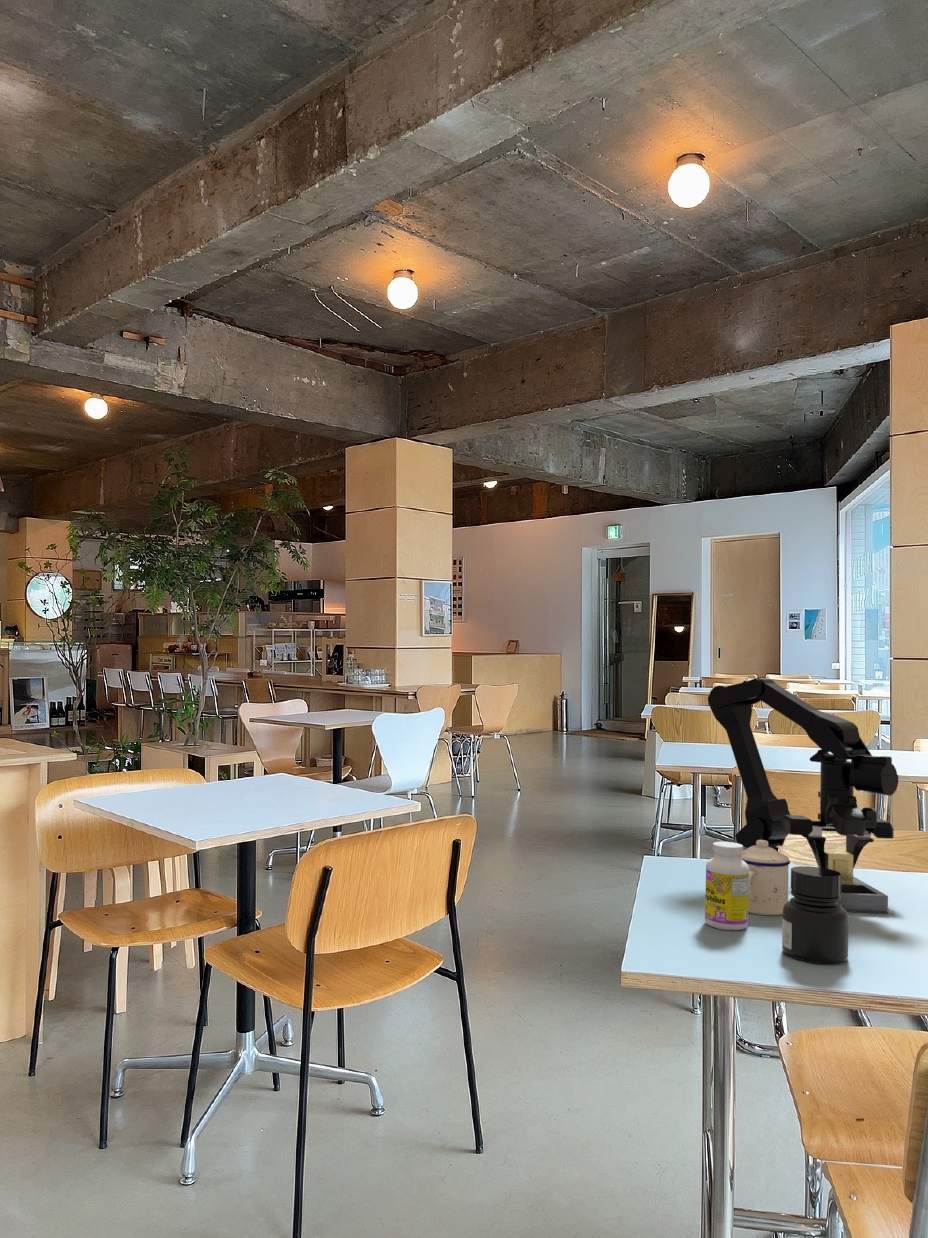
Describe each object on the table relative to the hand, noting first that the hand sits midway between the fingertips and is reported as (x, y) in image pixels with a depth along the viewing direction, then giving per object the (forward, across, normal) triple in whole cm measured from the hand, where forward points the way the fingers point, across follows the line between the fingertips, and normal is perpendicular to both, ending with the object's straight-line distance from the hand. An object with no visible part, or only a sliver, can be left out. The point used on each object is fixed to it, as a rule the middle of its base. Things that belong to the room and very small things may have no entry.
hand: (835, 873), depth 167 cm
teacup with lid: (+4, -18, -13) cm, 23 cm away
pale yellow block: (+1, 0, 0) cm, 1 cm away
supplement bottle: (+4, -26, -23) cm, 35 cm away
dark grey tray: (+4, 0, -4) cm, 6 cm away
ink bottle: (+4, -17, -37) cm, 41 cm away
